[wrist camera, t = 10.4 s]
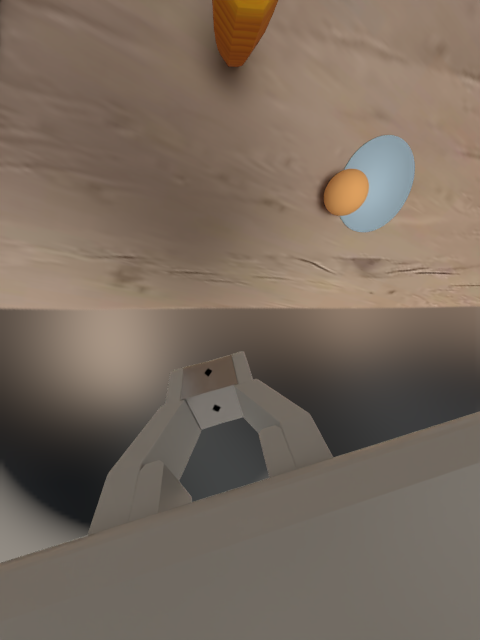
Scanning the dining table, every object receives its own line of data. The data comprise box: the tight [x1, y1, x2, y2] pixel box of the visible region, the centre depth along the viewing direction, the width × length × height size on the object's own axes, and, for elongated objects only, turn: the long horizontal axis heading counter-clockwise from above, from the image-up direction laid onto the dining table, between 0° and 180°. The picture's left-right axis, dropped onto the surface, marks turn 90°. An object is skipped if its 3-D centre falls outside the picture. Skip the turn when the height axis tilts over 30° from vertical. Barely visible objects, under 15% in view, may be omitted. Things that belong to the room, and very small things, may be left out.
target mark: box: [340, 135, 415, 232], centre depth 30 cm, size 12×12×1 cm
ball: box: [324, 169, 369, 216], centre depth 27 cm, size 5×5×5 cm
